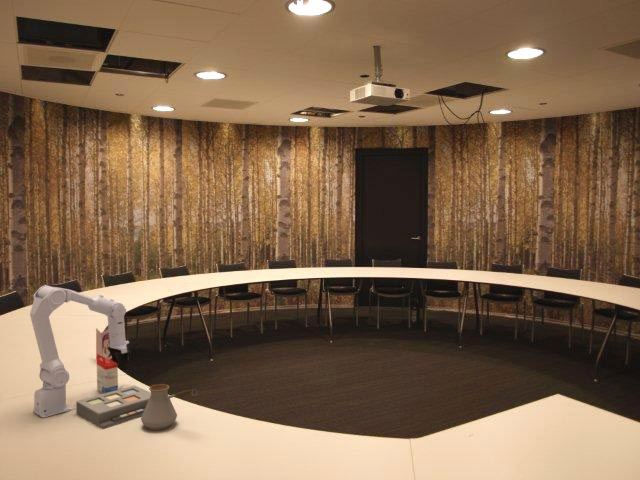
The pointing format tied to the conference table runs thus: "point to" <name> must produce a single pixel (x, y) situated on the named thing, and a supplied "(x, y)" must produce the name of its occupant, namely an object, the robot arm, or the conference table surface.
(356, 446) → the conference table surface
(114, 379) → the ink box
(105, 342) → the open printed carton
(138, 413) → the grey sorting tray
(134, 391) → the key slate
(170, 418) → the coffee pot
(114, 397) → the key sand
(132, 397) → the key terracotta
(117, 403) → the key cream
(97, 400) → the key sage
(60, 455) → the conference table surface
